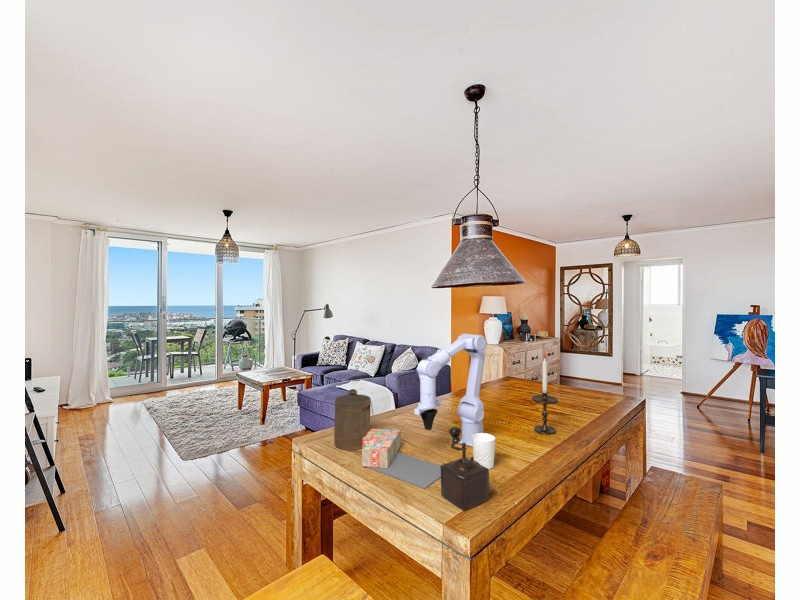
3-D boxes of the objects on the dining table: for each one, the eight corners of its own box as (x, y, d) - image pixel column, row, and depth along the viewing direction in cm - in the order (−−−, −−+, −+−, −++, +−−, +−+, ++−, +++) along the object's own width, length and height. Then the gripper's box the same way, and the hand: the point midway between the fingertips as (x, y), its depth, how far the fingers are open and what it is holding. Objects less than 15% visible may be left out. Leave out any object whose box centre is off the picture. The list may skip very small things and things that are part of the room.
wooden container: (378, 440, 157) (377, 387, 157) (355, 453, 145) (355, 395, 145) (350, 434, 165) (350, 383, 165) (326, 445, 153) (326, 390, 153)
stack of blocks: (387, 450, 131) (353, 448, 133) (388, 468, 131) (354, 466, 133) (400, 429, 152) (370, 428, 154) (401, 444, 152) (371, 443, 154)
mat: (396, 452, 145) (396, 451, 145) (451, 470, 130) (451, 468, 130) (368, 468, 132) (367, 466, 132) (424, 489, 118) (424, 487, 118)
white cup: (468, 465, 134) (467, 437, 134) (480, 458, 139) (480, 431, 139) (487, 472, 128) (487, 443, 128) (499, 465, 134) (499, 436, 134)
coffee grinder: (491, 499, 111) (491, 438, 111) (463, 512, 105) (463, 447, 105) (456, 478, 124) (455, 424, 124) (429, 488, 118) (429, 431, 118)
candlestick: (560, 436, 160) (560, 353, 160) (533, 434, 162) (533, 353, 162) (555, 427, 171) (555, 349, 170) (530, 426, 173) (530, 349, 173)
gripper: (429, 387, 149) (430, 421, 149) (407, 395, 137) (407, 432, 137) (445, 389, 144) (445, 425, 145) (423, 398, 133) (424, 436, 133)
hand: (428, 429), depth 141 cm, fingers closed
